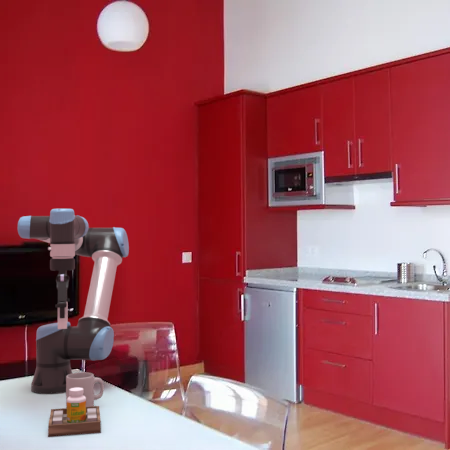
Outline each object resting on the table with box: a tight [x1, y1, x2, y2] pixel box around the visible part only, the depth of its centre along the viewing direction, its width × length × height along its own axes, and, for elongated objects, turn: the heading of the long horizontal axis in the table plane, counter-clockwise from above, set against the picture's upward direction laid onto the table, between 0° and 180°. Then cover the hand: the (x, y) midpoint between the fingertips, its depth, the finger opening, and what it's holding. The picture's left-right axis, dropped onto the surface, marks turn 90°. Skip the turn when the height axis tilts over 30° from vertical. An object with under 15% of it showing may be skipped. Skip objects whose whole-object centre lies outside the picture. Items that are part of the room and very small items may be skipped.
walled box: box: [47, 405, 102, 438], centre depth 174 cm, size 16×14×3 cm
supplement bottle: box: [67, 387, 86, 424], centre depth 174 cm, size 5×5×10 cm
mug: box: [65, 371, 105, 408], centre depth 190 cm, size 12×8×11 cm
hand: (62, 325), depth 190 cm, fingers open, 13 cm apart
